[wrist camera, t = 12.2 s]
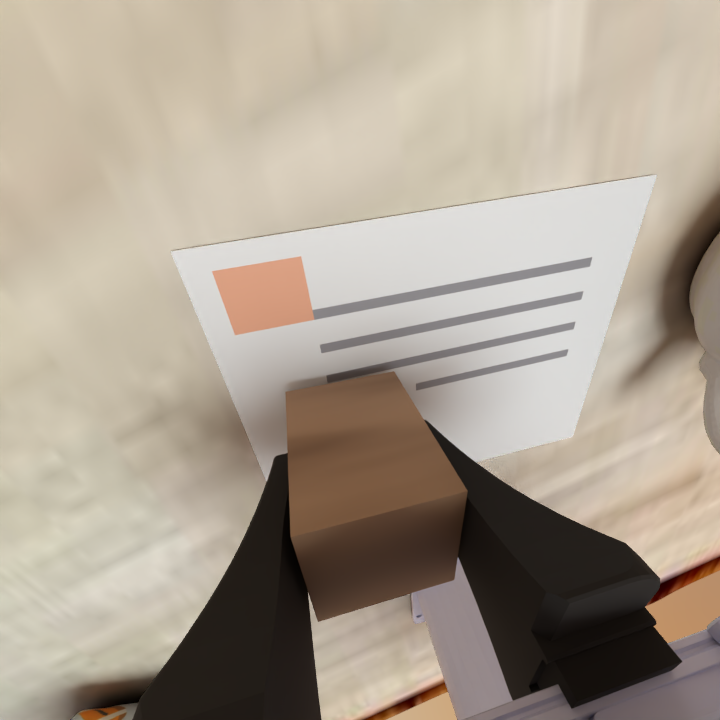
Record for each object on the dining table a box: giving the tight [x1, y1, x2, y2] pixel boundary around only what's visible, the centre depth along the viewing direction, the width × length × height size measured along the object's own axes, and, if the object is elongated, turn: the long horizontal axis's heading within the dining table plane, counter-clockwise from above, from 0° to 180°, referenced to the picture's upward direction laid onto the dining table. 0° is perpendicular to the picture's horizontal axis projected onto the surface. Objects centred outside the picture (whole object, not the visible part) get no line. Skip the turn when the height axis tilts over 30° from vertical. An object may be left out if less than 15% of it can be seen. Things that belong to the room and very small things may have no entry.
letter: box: [170, 175, 657, 482], centre depth 15 cm, size 14×18×1 cm
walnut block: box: [285, 371, 468, 622], centre depth 11 cm, size 4×4×6 cm
